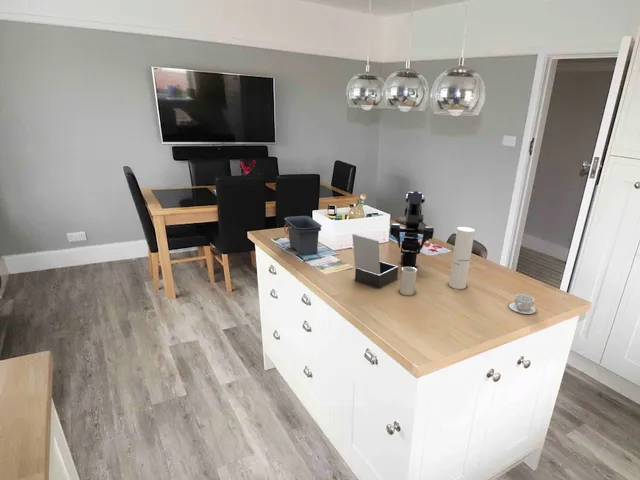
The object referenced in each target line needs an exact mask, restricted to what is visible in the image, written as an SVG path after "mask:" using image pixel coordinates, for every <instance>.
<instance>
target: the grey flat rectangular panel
mask: <svg viewBox="0 0 640 480" xmlns="http://www.w3.org/2000/svg"><path fill="white" fill-rule="evenodd" d="M352 248H353V260H354V261H353V262H354V268H359V269H362V270H365V271H369V272H372V273H375V274H378V275H380V261H381V259H380V241H379V239H374V238H370V237H366V236H363V235H359V234H355V233H353V234H352Z"/></svg>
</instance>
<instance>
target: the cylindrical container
mask: <svg viewBox="0 0 640 480" xmlns="http://www.w3.org/2000/svg"><path fill="white" fill-rule="evenodd" d="M475 232H476V229H475V228H472V227H467V226H457V228H456V234H455V242H454V247H453V248H454V249H453V255H452V263H451V269H450V277H449V284H448V285H449V287H450V288H453V289H457V290H463V289H466V287H467V281H468V275H469V269H470V264H471V256H472V251H473V244H474V237H475Z"/></svg>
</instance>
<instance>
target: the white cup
mask: <svg viewBox="0 0 640 480" xmlns="http://www.w3.org/2000/svg"><path fill="white" fill-rule="evenodd" d="M417 275H418V269H417V268H415V267H414V266H412V267H404V266H403V267H401V274H400V286H399V293H400V294H401V295H404V296H412V295H413V296H414V295H415V293H416V284H417V283H416V282H417Z"/></svg>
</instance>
